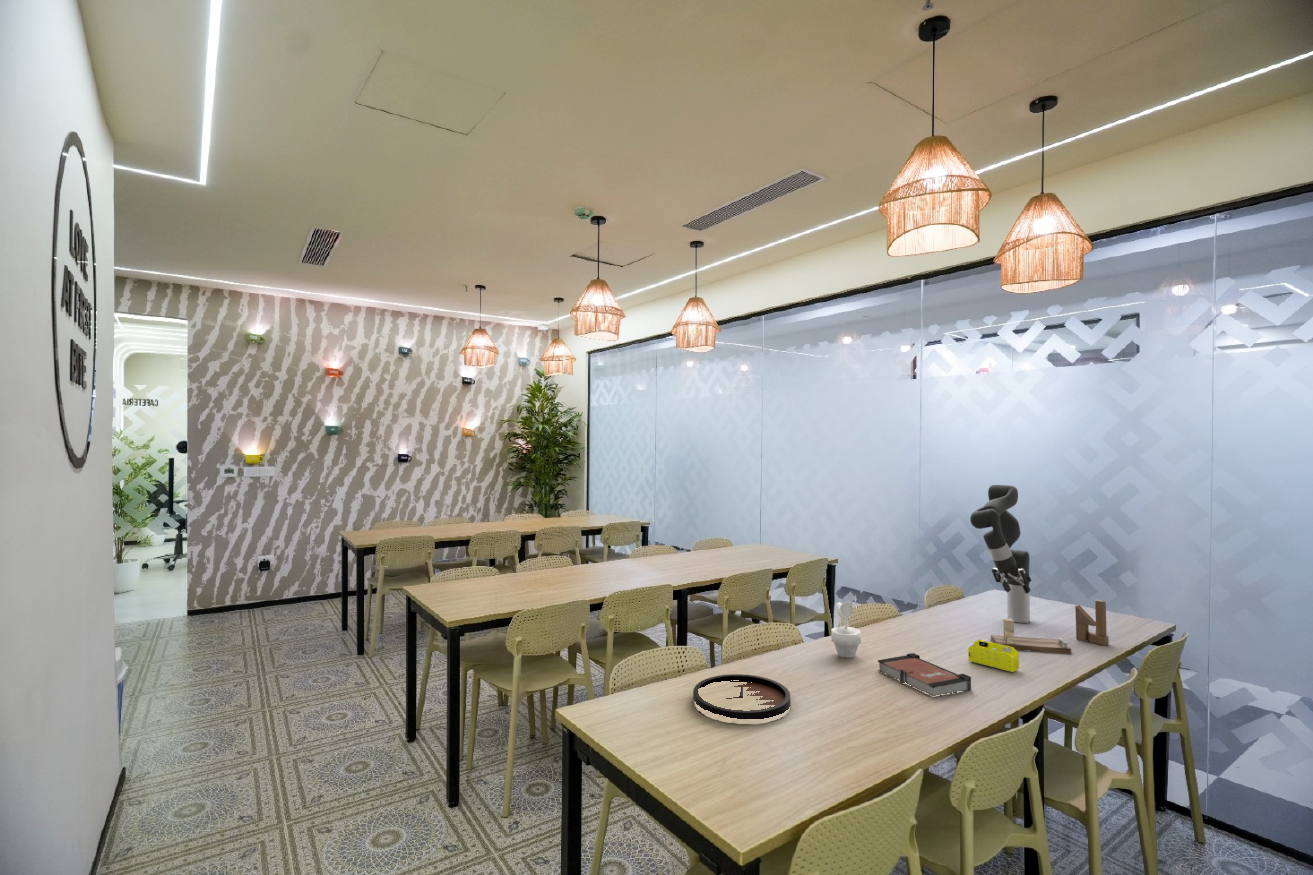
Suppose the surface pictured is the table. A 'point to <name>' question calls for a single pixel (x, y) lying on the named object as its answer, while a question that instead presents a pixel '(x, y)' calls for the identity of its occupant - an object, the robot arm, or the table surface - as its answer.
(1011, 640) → the beige tall blocky piece
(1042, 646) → the walnut board
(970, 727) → the table surface
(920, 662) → the book
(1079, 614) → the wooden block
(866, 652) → the table surface
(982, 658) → the yellow toy chassis
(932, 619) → the table surface
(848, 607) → the potted plant
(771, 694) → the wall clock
